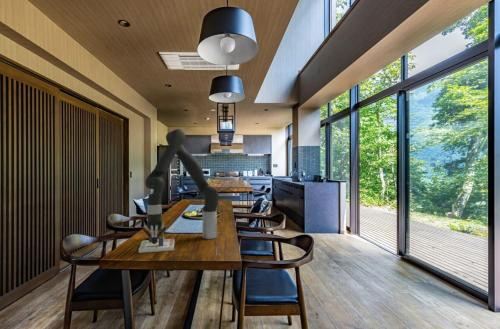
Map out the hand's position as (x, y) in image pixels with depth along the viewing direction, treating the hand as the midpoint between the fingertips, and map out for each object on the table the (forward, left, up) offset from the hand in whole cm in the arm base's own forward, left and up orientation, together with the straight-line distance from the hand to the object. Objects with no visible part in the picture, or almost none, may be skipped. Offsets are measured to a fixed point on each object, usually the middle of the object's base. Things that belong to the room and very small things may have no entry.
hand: (154, 243), depth 144 cm
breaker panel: (-1, -4, -3) cm, 6 cm away
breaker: (+3, -9, -1) cm, 9 cm away
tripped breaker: (-3, 0, -1) cm, 4 cm away
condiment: (+1, -24, -4) cm, 25 cm away
